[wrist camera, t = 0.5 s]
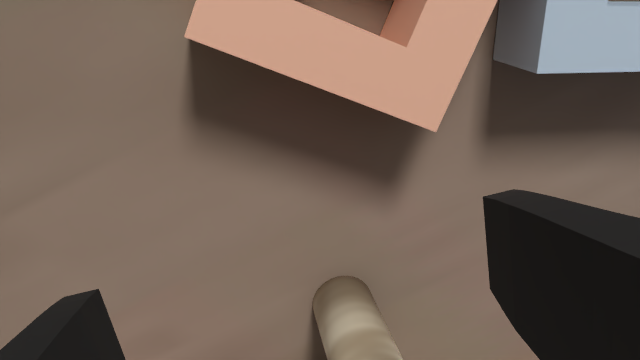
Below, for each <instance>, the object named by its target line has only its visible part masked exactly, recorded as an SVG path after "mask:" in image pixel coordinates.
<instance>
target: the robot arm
mask: <svg viewBox="0 0 640 360" xmlns="http://www.w3.org/2000/svg"><path fill="white" fill-rule="evenodd" d="M483 204H484V217H485V230H486V242H487V255H488V268H489V281H490V289H491V291H492V293H493V294H494V296H495V298H496V299H497V301H498V303H499V304H500V306H501V308H502V310H503V311H504V313H505V314H506V316H507V317H508V319H509V321H510V322H511V324H512V325H513V327H514V328H515V330H516V331H517V332H518V334H519V335H520V336H521V337H522V339H523V340H524V341H525V342H526V343H527V345H528V346H529V347H530V348H531V349H532V351H533V352H534V353H535V354H536V356H537V357H538V358H539V359H540V360H640V218H637V217H633V216H628V215H624V214H620V213H615V212H611V211H607V210H603V209H599V208H595V207H591V206H587V205H583V204H579V203H576V202H572V201H568V200H564V199H560V198H556V197H552V196H547V195H543V194H539V193H534V192H529V191H523V190H514V189H513V190H509V191H505V192H501V193H497V194H492V195H488V196H484V197H483ZM0 360H125V357H124V354H123V352H122V349H121V346H120V344H119V341H118V339H117V336H116V333H115V331H114V328H113V325H112V323H111V320H110V317H109V315H108V312H107V310H106V307H105V304H104V302H103V299H102V296H101V294H100V291H99V289H96V290H92V291H88V292H83V293H79V294H75V295H71V296H67V297H64V298H62V299H61V300H59V301H58V302H56V303H55V304H53V305H52V306H51V307H50V308H48V309H47V310H46V311H45V312H43V313H42V314H41V315H40V316H39V317H37V318H36V319H35V320H34V321H33V322H32V323H31V324H29V325H28V326H27V327H26V328H25V329H24V330H23V331H21V332H20V333H19V334H18V335H17V336H16V337H15V338H14V339H12V340H11V341H10V342H9V343H8V344H7V345H6V346H4V347H3V348H2V349H1V350H0Z"/></svg>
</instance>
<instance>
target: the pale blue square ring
mask: <svg viewBox="0 0 640 360" xmlns="http://www.w3.org/2000/svg"><path fill="white" fill-rule="evenodd" d="M493 60H496V61H499V62H502V63H505V64H508V65H511V66H514V67H517V68H521V69H524V70H527V71H530V72H533V73H536V74H546V73H594V72H640V1H608V0H500V1H499V10H498V19H497V27H496V36H495V45H494V54H493Z"/></svg>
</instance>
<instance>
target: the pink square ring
mask: <svg viewBox="0 0 640 360" xmlns="http://www.w3.org/2000/svg"><path fill="white" fill-rule="evenodd" d="M496 2H497V0H394V2H393V4H392V7H391V9H390V12H389V14H388V16H387V19H386V21H385V24H384V26H383V28H382V31H381V33H380V36H378V35H376V34H373V33H371V32H368V31H366V30H364V29H361V28H359V27H357V26H354V25H352V24H349V23H347V22H345V21H342V20H340V19H337V18H335V17H333V16H330V15H328V14H326V13H323V12H321V11H318V10H316V9H314V8H311V7H309V6H307V5H304V4H302V3H299V2H297V1H295V0H196V2H195V5H194V8H193V11H192V14H191V18H190V21H189V24H188V27H187V30H186V33H185V36H184V37H186V38H188V39H191V40H194V41H196V42H199V43H202V44H204V45H207V46H210V47H212V48H215V49H217V50H220V51H223V52H225V53H228V54H231V55H233V56H236V57H239V58H241V59H244V60H247V61H249V62H252V63H254V64H257V65H260V66H262V67H265V68H268V69H270V70H273V71H276V72H278V73H281V74H284V75H286V76H289V77H291V78H294V79H297V80H299V81H302V82H305V83H307V84H310V85H313V86H315V87H318V88H321V89H323V90H326V91H328V92H331V93H334V94H336V95H339V96H342V97H344V98H347V99H350V100H352V101H355V102H357V103H360V104H363V105H365V106H368V107H371V108H373V109H376V110H379V111H381V112H384V113H387V114H389V115H392V116H394V117H397V118H400V119H402V120H405V121H408V122H410V123H413V124H416V125H418V126H421V127H424V128H426V129H429V130H431V131H434V132H436V131H437V129H438V127H439V125H440V122H441V120H442V118H443V116H444V114H445V112H446V110H447V107H448V105H449V103H450V101H451V99H452V97H453V95H454V92H455V90H456V88H457V86H458V84H459V82H460V80H461V77H462V75H463V73H464V71H465V69H466V67H467V65H468V62H469V60H470V58H471V56H472V54H473V52H474V50H475V47H476V45H477V43H478V41H479V39H480V37H481V35H482V32H483V30H484V28H485V26H486V24H487V22H488V20H489V17H490V15H491V13H492V11H493V9H494V7H495V5H496Z"/></svg>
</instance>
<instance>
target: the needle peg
mask: <svg viewBox="0 0 640 360" xmlns="http://www.w3.org/2000/svg"><path fill="white" fill-rule="evenodd" d="M313 311H314V315H315V318H316V322H317V325H318V329H319V332H320V336H321V339H322V342H323V346H324V349H325V353H326V356H327V360H403V359H402V356H401V354H400V352H399V350H398V348H397V346H396V344H395V342H394V340H393V338H392V336H391V334H390V332H389V330H388V328H387V326H386V323H385V321H384V319H383V317H382V315H381V313H380V311H379V309H378V307H377V305H376V303H375V301H374V299H373V297H372V295H371V292H370V290H369V288H368V287H367V285H366V284H365V283H364V282H363V281H361V280H359V279H358V278H355V277H351V276H340V277H335V278H333V279H330V280H328V281H327V282H325V283H324V284H323V285H322V286H321V287H320V288H319V289H318V290H317V292H316V294H315V296H314V299H313Z"/></svg>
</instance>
